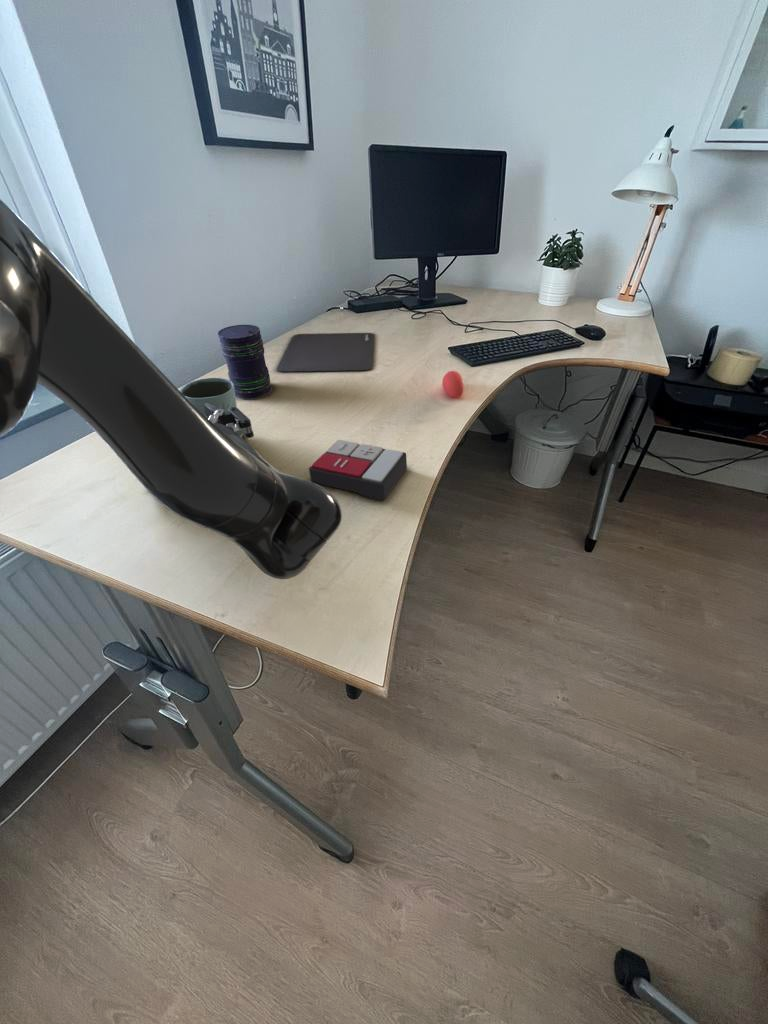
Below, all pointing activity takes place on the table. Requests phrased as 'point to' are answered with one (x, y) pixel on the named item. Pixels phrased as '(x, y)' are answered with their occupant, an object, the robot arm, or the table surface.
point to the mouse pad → (328, 352)
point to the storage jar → (245, 360)
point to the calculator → (359, 468)
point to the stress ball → (453, 384)
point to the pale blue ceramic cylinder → (211, 394)
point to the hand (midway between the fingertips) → (179, 418)
